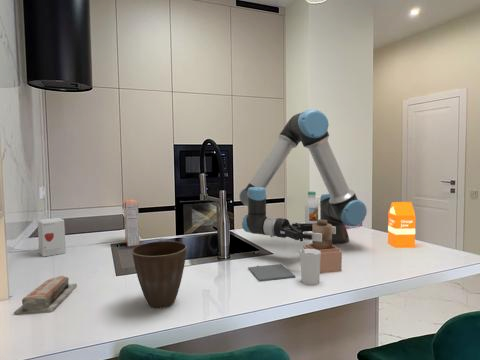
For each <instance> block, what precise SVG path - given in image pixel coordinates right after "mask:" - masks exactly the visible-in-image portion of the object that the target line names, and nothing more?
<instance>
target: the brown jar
mask: <svg viewBox="0 0 480 360" xmlns="http://www.w3.org/2000/svg"><path fill="white" fill-rule="evenodd" d="M311 232H312V233H320V234H322V242H318V241H311V242H312V243H311V244H312V247H313V248H315V249H317V250H323V249H332V245H333V244H332V225H331V224H328V223H327V220H320V219H318V220H317V223H314V224H312V231H311Z"/></svg>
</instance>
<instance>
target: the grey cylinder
mask: <svg viewBox="0 0 480 360" xmlns="http://www.w3.org/2000/svg"><path fill="white" fill-rule="evenodd" d="M299 256H300V261H299V262H300V277H301V278H300V279H301V280H300V281H301V283H303V284H305V285H309V286H310V285H311V286H314V285H319V284H320V276H321V273H320V257H321V252H320V251H319V250H316V249H304V248H302V249H300V250H299Z"/></svg>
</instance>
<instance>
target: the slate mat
mask: <svg viewBox="0 0 480 360" xmlns="http://www.w3.org/2000/svg"><path fill="white" fill-rule="evenodd" d="M247 268H248V270H249V271H250V273H251V274H252V275H253V276H254V278H255V279H256V280H257V281H258V282H268V281H277V280H286V279H294V278H296V275H295V274H294V273H293V272H292V271H291V270H289V269H288V268H287V267H285V266H284V264H282V263H277V264H268V265H267V264H266V265H256V266H248V267H247Z"/></svg>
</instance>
